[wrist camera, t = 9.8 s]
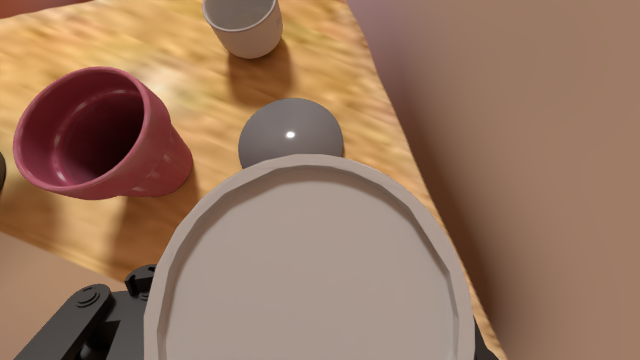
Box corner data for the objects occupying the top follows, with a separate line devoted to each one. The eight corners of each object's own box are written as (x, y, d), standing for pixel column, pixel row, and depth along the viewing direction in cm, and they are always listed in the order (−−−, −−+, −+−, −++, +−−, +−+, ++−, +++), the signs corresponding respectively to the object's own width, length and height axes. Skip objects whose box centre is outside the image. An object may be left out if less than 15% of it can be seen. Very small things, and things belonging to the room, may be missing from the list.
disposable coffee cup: (229, 279, 18) (55, 315, 7) (318, 184, 20) (299, 86, 9) (327, 389, 16) (313, 711, 5) (418, 271, 18) (571, 295, 6)
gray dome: (220, 165, 37) (217, 162, 36) (276, 87, 41) (274, 83, 40) (309, 216, 34) (308, 214, 33) (361, 127, 38) (361, 124, 37)
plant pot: (94, 188, 37) (-23, 153, 25) (153, 111, 41) (75, 47, 28) (172, 232, 35) (84, 218, 22) (228, 146, 38) (177, 93, 26)
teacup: (298, 50, 43) (290, 4, 35) (240, 80, 41) (218, 40, 34) (260, -2, 46) (245, -53, 39) (206, 25, 45) (180, -23, 38)
